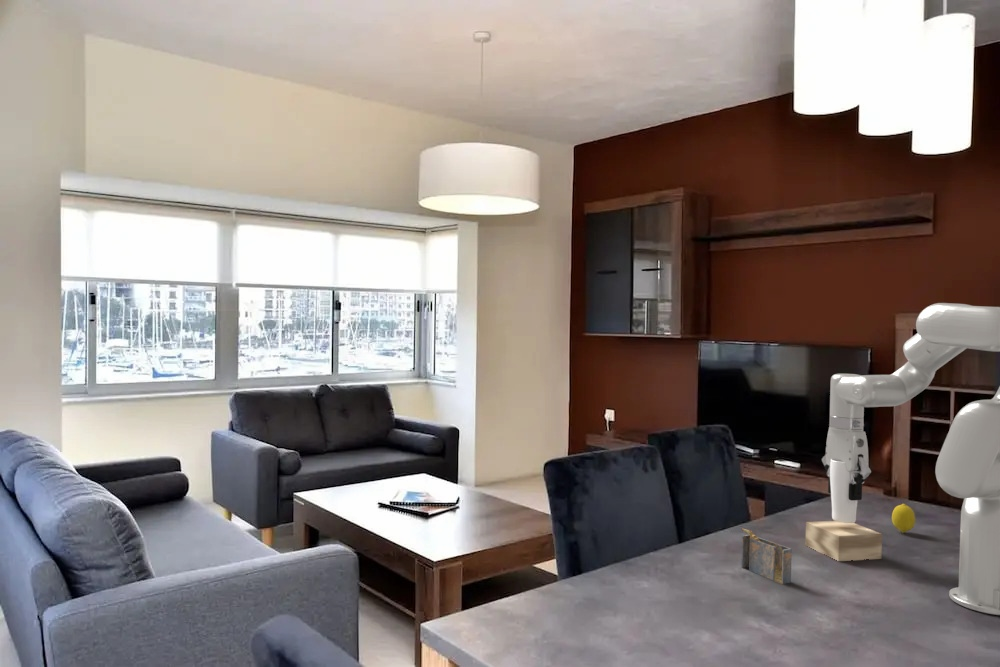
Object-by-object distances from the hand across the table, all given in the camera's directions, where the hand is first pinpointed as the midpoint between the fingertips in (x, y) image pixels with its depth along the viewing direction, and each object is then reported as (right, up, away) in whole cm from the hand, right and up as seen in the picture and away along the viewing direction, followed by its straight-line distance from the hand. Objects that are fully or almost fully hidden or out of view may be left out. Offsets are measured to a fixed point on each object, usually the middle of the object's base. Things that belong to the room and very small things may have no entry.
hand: (844, 495), depth 173 cm
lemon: (+25, -15, +19) cm, 35 cm away
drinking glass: (0, -6, 0) cm, 6 cm away
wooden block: (0, -14, 0) cm, 14 cm away
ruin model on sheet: (-26, -14, -17) cm, 34 cm away
